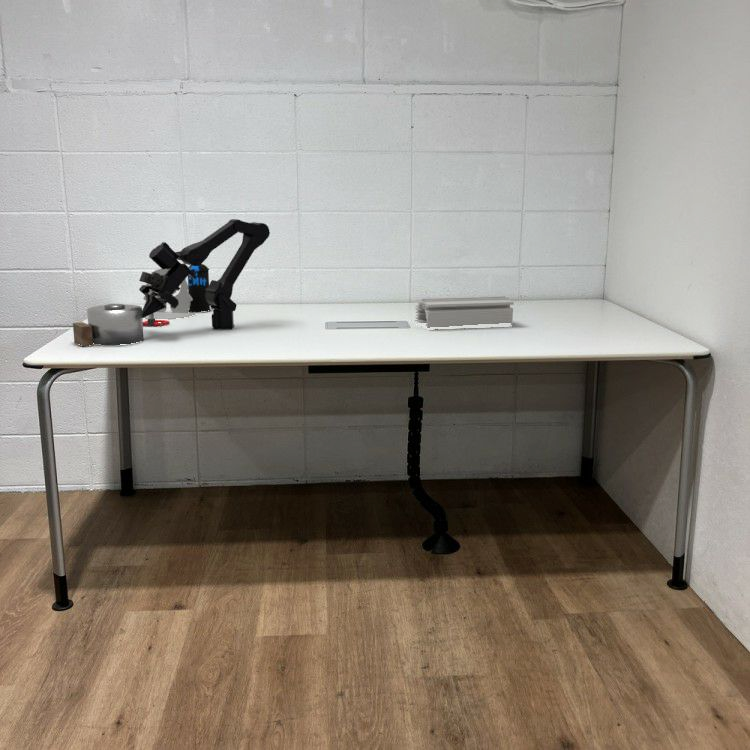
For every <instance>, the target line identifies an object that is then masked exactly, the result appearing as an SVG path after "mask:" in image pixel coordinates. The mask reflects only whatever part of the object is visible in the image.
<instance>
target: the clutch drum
mask: <svg viewBox="0 0 750 750" xmlns="http://www.w3.org/2000/svg"><path fill="white" fill-rule="evenodd" d="M142 310H143V307H142V306H140V305H135V304H123V303H108V304H104V305H97V306H91V307H89V308H87V309H86V312H87V313H86V316H87V324H88V325H90V326H92V339H93V343H94V344H101V345H120V344H129V345H132V344H131V343H135V344H137V343H136V342H139V343H141V342H140V341H142V342H143V341H144V340H145V339H144V337H145V336H144V334H145V333H144V326H143V322H144V319H143V318H142ZM94 344H93V345H94ZM101 345H100V346H101ZM120 346H121V345H120Z"/></svg>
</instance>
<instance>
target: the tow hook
mask: <svg viewBox="0 0 750 750" xmlns="http://www.w3.org/2000/svg"><path fill="white" fill-rule="evenodd" d="M158 322H161V323H158ZM169 324H170V320H155V319H154V313H153V314H150V315H149V319H147V320H144V321H143V327H152V326H154V327H157V326H161V327H162V326H166V325H169Z"/></svg>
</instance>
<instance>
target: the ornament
mask: <svg viewBox="0 0 750 750" xmlns="http://www.w3.org/2000/svg"><path fill="white" fill-rule="evenodd" d="M168 270H169V269H162V268H159V269H155V270H154V271H152V272H151V273H150V274H152V273H153V272H156V273H159V274H160V275H165V274H166V272H167V271H168ZM146 285H149V286H151V285H150V284H148V283H146ZM177 292H178V290H176V291H175V292H174V293H173V294H172V295H173V296H174V297H175V298H176V299H178V302H179V305H178V306H177V307H176V308H175V309H174V308H171V307H170V310H171V311H169V312H168V311H166V310H167V308H168V307H167V305H168V304H166V305H165V306H166V308H164V309H161V310H159V311H157V312H155V313H154V319H168V320H177V319H176V318H181V319H185V318H184V317H188V318H190V317H189V316H192V315H195V314H197V313H194V312H189V308H190V305H191V303H190V301H192V300H193V299H192V297H191V296H190V294H189V293H188V280H187V278H186V279H185V280H184V281H183V282H182V283H181V285H180V289H179V292H178V293H177ZM174 294H176V295H174ZM143 300H144V301H145V302H146V296H145V295H144V296H143ZM195 316H196V315H195ZM192 317H193V316H192ZM144 318H145V319H144V320H148V319H149V315H148V316H146V317H144Z"/></svg>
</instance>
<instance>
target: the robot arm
mask: <svg viewBox="0 0 750 750" xmlns="http://www.w3.org/2000/svg"><path fill="white" fill-rule="evenodd" d="M238 233H240V234H243V235H242V242H241V244H240V245H239V247H238V249H237V251H236V252H235V254H234V256H233V257H232V259H231V260H230V262H229V263H228V266H227V267H226V268H225V270H224V272H223V273H222V275H221V276H220V278H219V279H217V280H215V279H211V281H209V287H208V288H207V289H206V294H205V297H206V301H207V302H208V303H209V304H210V309H211V310H212V314H211V327H212V330H233V329H234V328H235V326H236V325H235V324H234V322H235V319H234V312H235V311H237V310H236V309H237V306H238V305H237V303H235V301H233V299H232V298H231V297H232V295H233V290H234V289H233V287H234V285H235V283H236V281H237V280H238V279H239V276H240V275H241V273H242V271H243V270H244V268H245V267H246V265H247V263H248V261H249V260H250V259H251V257H252V255H253V253H254V252H255V250H257V249H258V248H259V247H260V246H262V245H263V244H264V243H265V242H266V240H267V239H269V237H270V234H271V231H270V227H269V226H268V225H267V224H266V223H264V222H256V221H253V222H247V221H244V220H241V219H236V218H233V219H232V218H231V219H229V221H228V222H227V223H225V224H224V225H222V226H221V227H219V228H218V229H216V230H215V231H214V232H212V233H211V234H210V235H208V236H207V237H205V238H204V239H202V240H200V241H198V242H194V243H191V244H190V245H187V246H185V247H184V248H182V249H181V250H180V251H174V250H173V249H172V248H171V246H170V245H169V244H168V243H167V242H166V241H165V242H164V241H162V242H161V243H160V244H159V245H157V246H156V247H154V248H152V250H151V251H150V253H149V254H148V257H149V259H151V260H152V261H153V262H154V263H155V264H156V265H157V266H158V267H159V269H169V270H168V271H167V272H166V274H165V275H160V274H159V273H156V272H154V271H152V272H153V273H152V272H151V273H152V274H151V273H150V272H146V271H142V272H141V275H140V278H139V282H142V283H145V284H142V285H141V286H140V287H139V289H138V290H139V292H140V293H142V294H143V295H144V296H146V301H145V302H144V304H143V305H144V306H143V307H142V318H144V317H146V316H148V315H150V314H153V313H155V312H157V311H159V310H161V309H164V308H166V306H165V305H167V304H169V306H170V307H171V308H174V309H175V308H176V307H177V306H178V305H179V302H178V299H176V298H175V297H174V296H175V295H174V294H173V293H174V292H175V291H176V290H177V291H176V292H178V291H179V292H180V288H181V283H182V282H183V281H184V280H185V279H186V280H187V278H188V276H189V277H192V278H195V270H194V269H190V268H189V266H190V265H192V266H199V265H201V264H203V263H204V262H205V261H206V260H207V259H208V257H209V256H210V254H211V253H212V252H213V251H214V250H215V249H217V248H218V247H219V246H221V245H223V243H225V242H227V241H228V240H229V239H231V238H232V237H234V236H235V235H236V234H238ZM180 261H181V262H182V263H181V262H180ZM147 283H148V284H150V285H151V286H149V285H147ZM171 308H170V309H171ZM166 309H167V308H166Z"/></svg>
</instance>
